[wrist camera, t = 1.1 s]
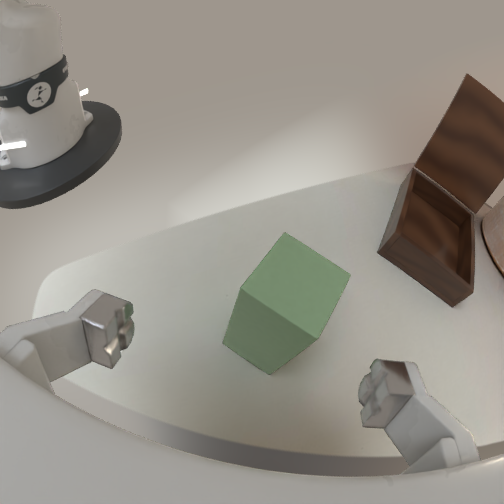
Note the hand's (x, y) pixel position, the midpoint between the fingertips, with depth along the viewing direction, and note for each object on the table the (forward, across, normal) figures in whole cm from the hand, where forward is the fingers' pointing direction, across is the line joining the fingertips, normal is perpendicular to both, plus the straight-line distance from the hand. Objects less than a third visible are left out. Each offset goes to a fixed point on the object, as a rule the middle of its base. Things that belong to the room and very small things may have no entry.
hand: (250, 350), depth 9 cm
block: (+14, -1, +11) cm, 17 cm away
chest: (+32, -22, +2) cm, 39 cm away
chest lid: (+32, -27, -14) cm, 44 cm away
